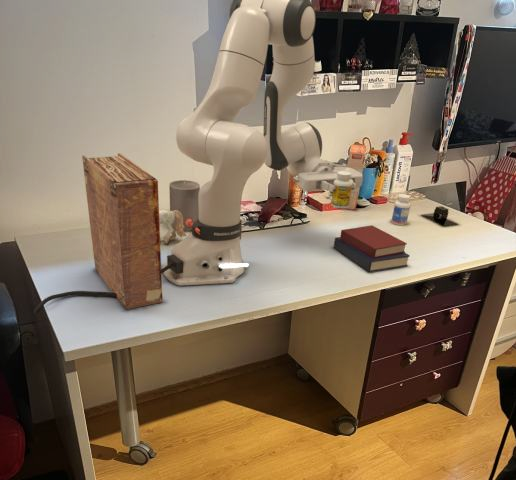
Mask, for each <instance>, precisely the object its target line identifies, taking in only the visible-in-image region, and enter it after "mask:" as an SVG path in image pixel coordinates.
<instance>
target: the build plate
mask: <svg viewBox="0 0 516 480" xmlns="http://www.w3.org/2000/svg"><path fill="white" fill-rule="evenodd" d="M420 216H421V217H422V218H424V219H426V220H428V221H431V222H432V223H435V224H437V225H438V226H441V227H442V228H443V227H444V228H445V227H454V226H459V223H458V222H455V221H453V220H452V219H450V218H448V216H449V208H447V207H445V206H442V205H441V206H436V207H435V209H434V211H433V212H431V213H424V214H420Z"/></svg>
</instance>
